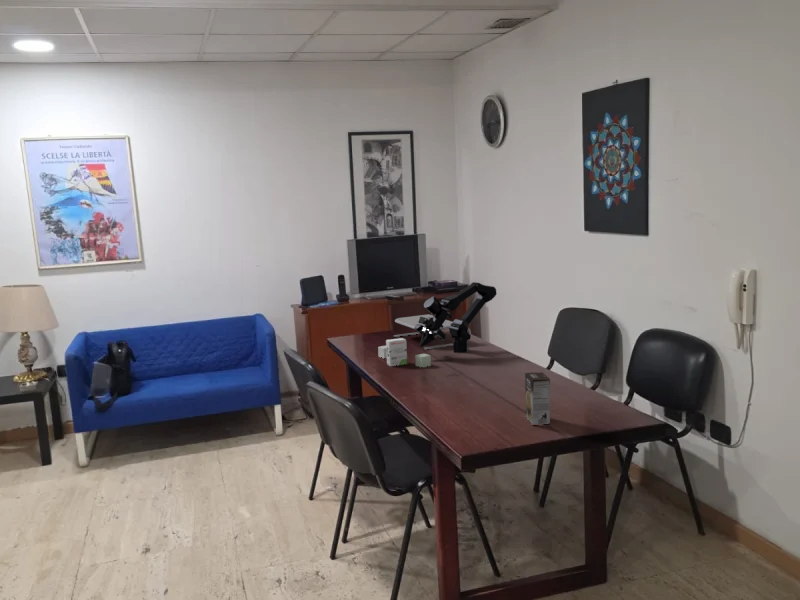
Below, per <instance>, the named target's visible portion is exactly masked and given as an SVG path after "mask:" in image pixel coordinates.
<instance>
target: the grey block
mask: <svg viewBox="0 0 800 600" xmlns="http://www.w3.org/2000/svg"><path fill="white" fill-rule="evenodd" d="M377 349H378V351H377V354H378V358H381V357H382V358H381V359H384V358H385V359H387V352H386V345H381V346H378V347H377Z"/></svg>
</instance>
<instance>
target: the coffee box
mask: <svg viewBox="0 0 800 600" xmlns="http://www.w3.org/2000/svg"><path fill="white" fill-rule="evenodd" d="M524 376H525V378H524V380H525V381H524V382H525V383H524V384H525V385H524V386H525V418H526V417H527V418H526V419H527V421H528V420H529V421H530V422H531V423H532V424H533V425H534V424H548V423H550V424H551V378H549V377H548V376H547V375H546V374H545V373H544V372H543V371H541V372H525V373H524ZM529 421H528V422H529ZM530 422H529V423H530ZM531 423H530V424H531ZM532 424H531V425H532Z"/></svg>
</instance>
